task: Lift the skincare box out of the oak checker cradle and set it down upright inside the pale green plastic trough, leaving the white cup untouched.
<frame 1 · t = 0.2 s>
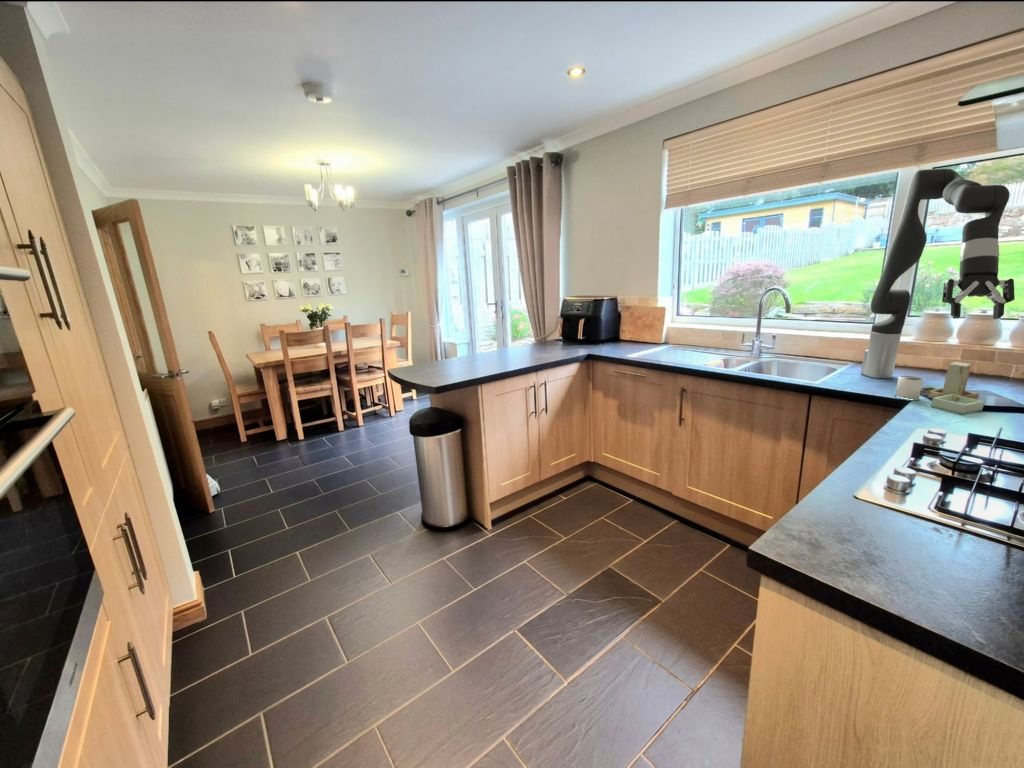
hand: (976, 318, 129), 31 cm above the countertop, tool tilted 20°, fingers open, 8 cm apart
trough: (956, 408, 151), on the countertop
cup: (906, 397, 162), on the countertop
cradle: (951, 399, 160), on the countertop
skincare box: (951, 400, 160), resting in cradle
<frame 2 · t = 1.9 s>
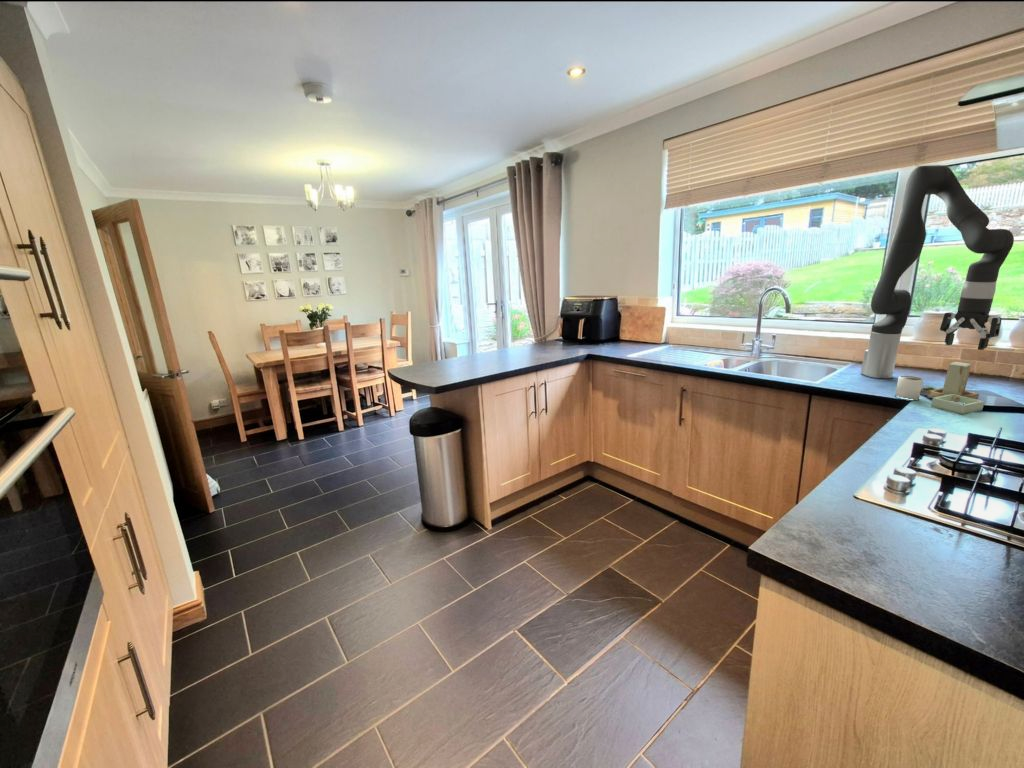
hand: (964, 347, 155), 18 cm above the countertop, tool pointing down, fingers open, 8 cm apart
nothing on the countertop moved.
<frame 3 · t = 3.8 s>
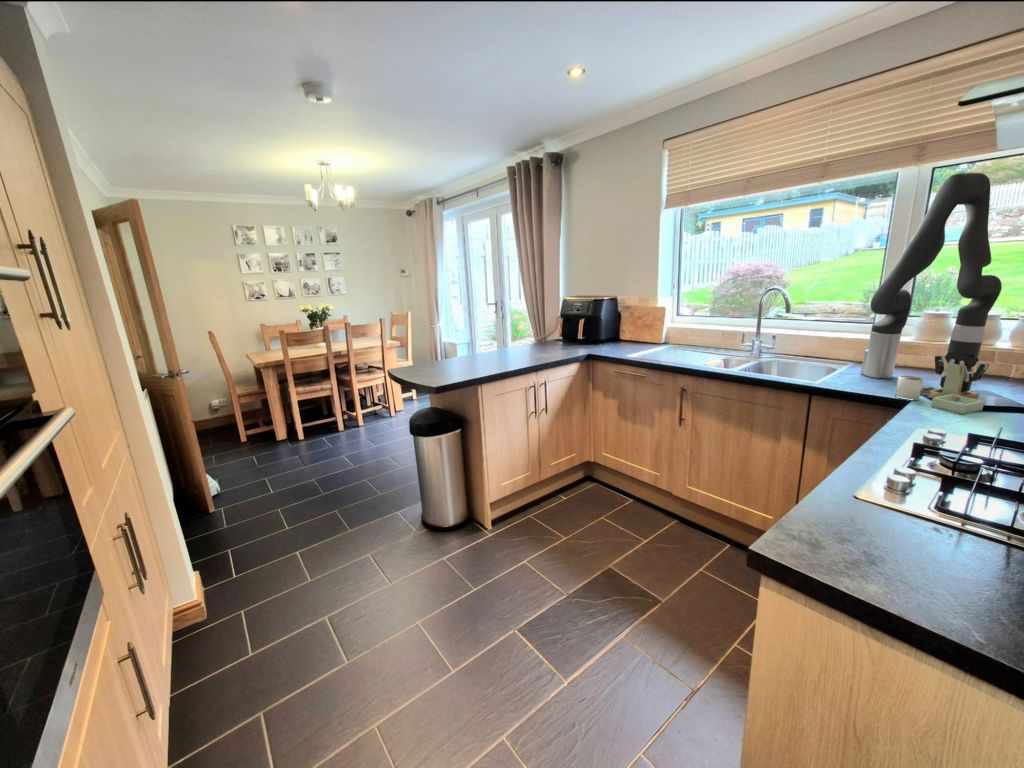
hand: (953, 389, 159), 3 cm above the countertop, tool pointing down, fingers closed on skincare box, 5 cm apart
skincare box: (951, 400, 160), resting in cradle, touching gripper
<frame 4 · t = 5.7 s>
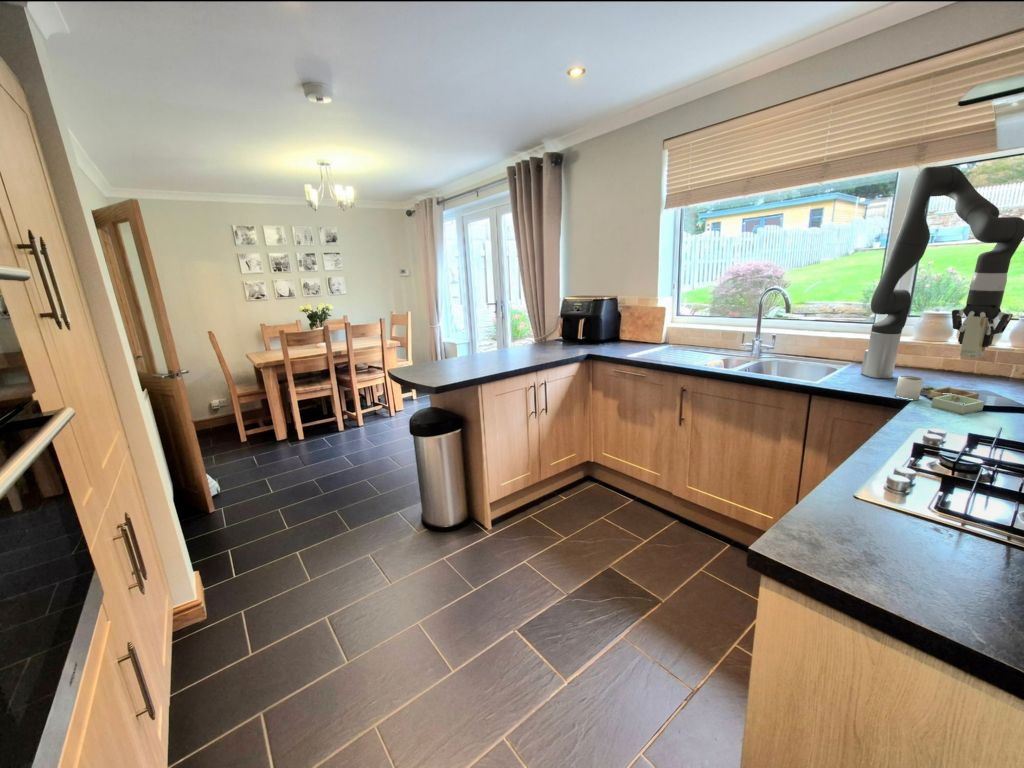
hand: (973, 345, 146), 20 cm above the countertop, tool pointing down, fingers closed on skincare box, 5 cm apart
skincare box: (971, 357, 147), point 17 cm above the countertop, touching gripper
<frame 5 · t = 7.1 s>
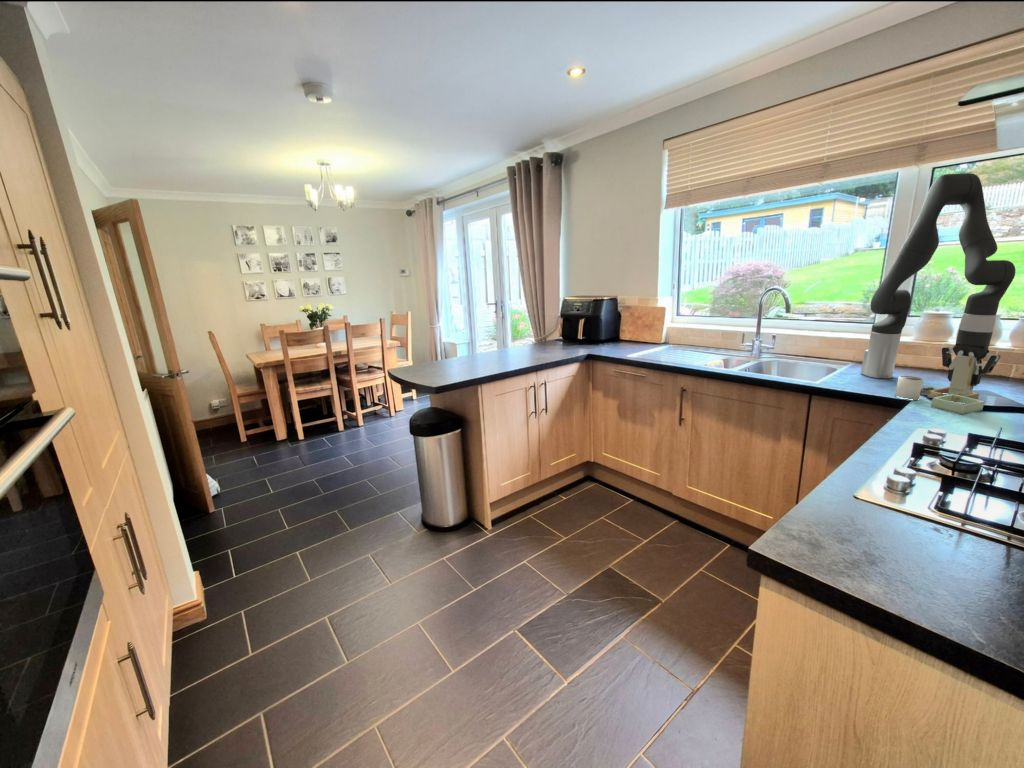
hand: (962, 383, 149), 8 cm above the countertop, tool pointing down, fingers closed on skincare box, 5 cm apart
skincare box: (959, 394, 150), point 5 cm above the countertop, touching gripper
when the fingers open (5 cm above the countertop, at t = 8.0 s): skincare box drops 1 cm, resting on trough.
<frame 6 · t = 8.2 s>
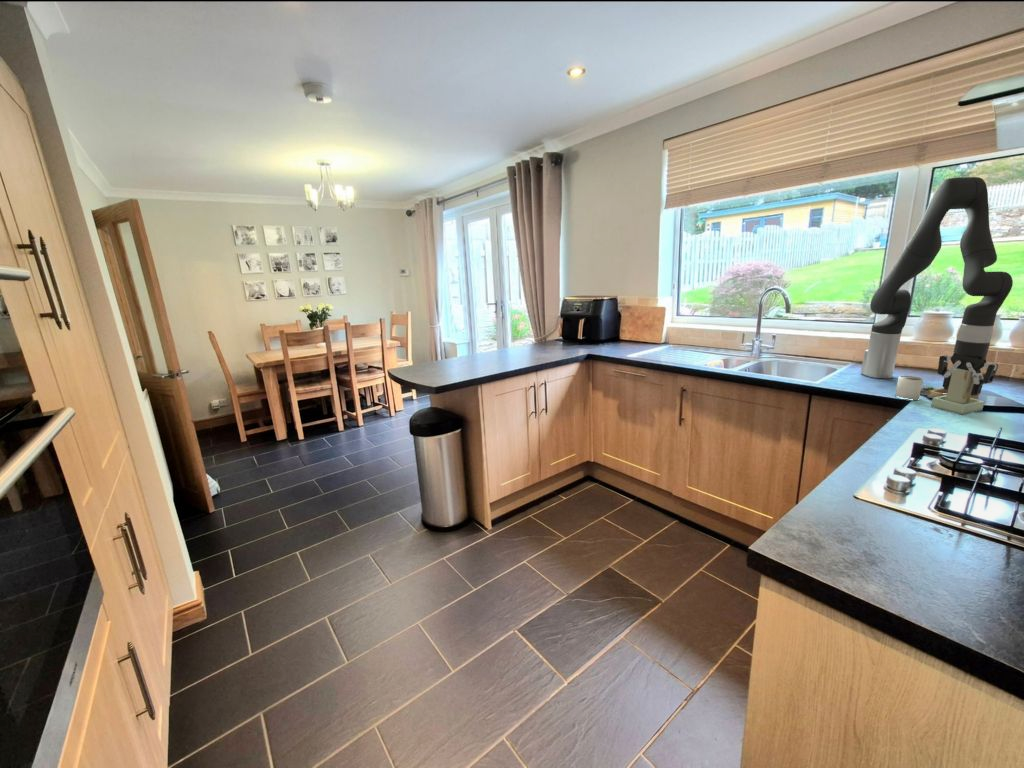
hand: (960, 392, 150), 5 cm above the countertop, tool pointing down, fingers open, 6 cm apart
skincare box: (955, 407, 151), resting on trough
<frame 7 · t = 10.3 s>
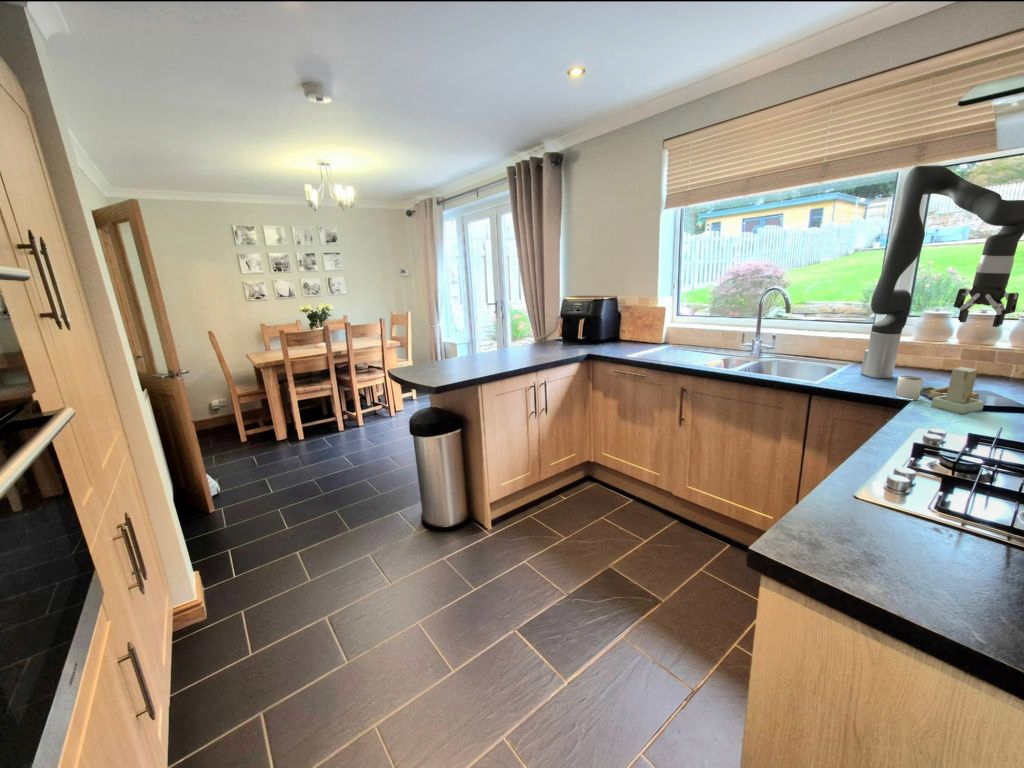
hand: (978, 324, 150), 26 cm above the countertop, tool pointing down, fingers open, 8 cm apart
nothing on the countertop moved.
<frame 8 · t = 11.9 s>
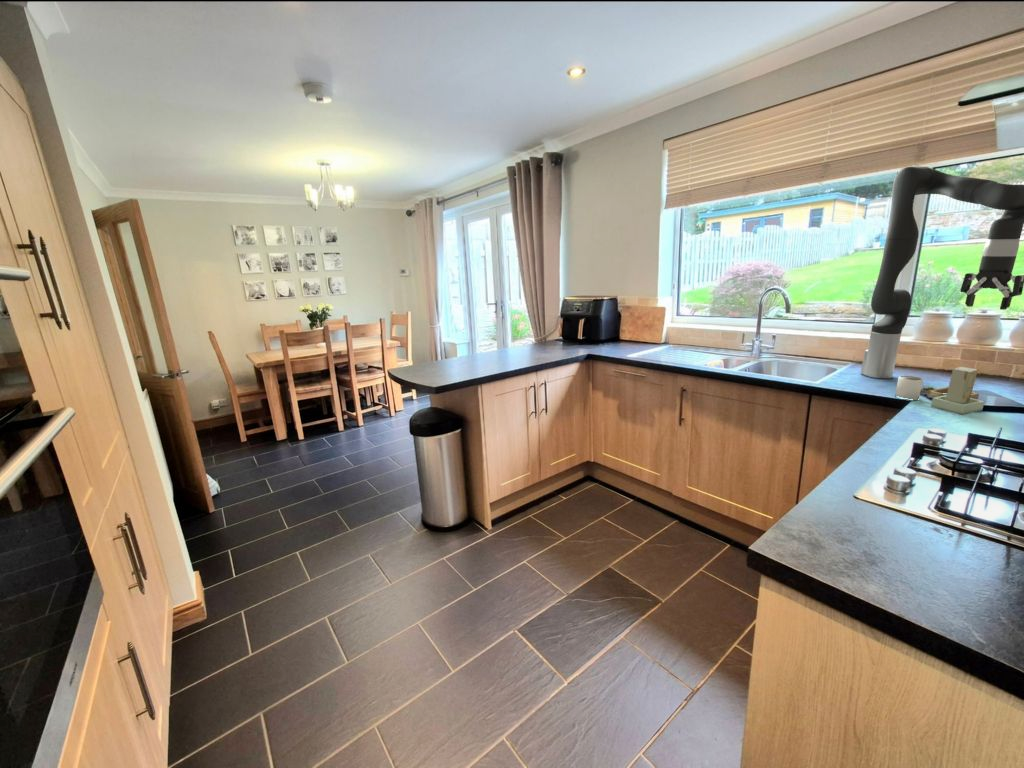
hand: (985, 307, 152), 30 cm above the countertop, tool pointing down, fingers open, 8 cm apart
nothing on the countertop moved.
at the end: skincare box inside the target area on the trough (0.2 cm from its centre), point 0.4 cm above the trough's base; skincare box tilted 0°; the gripper is holding nothing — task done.
